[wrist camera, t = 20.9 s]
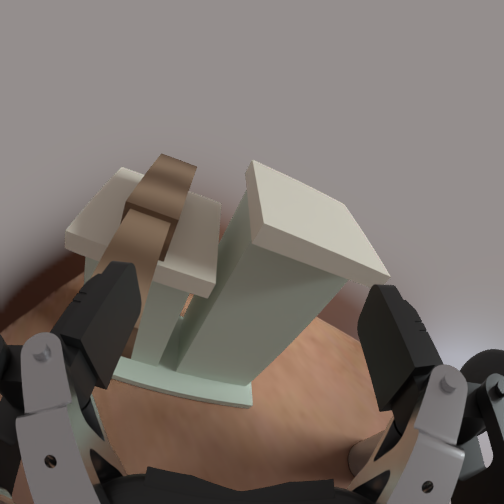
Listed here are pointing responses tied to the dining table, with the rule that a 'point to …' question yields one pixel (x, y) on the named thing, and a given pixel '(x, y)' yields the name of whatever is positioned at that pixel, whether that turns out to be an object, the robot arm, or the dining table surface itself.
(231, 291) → the step stand
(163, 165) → the walnut leg
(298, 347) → the dining table surface
